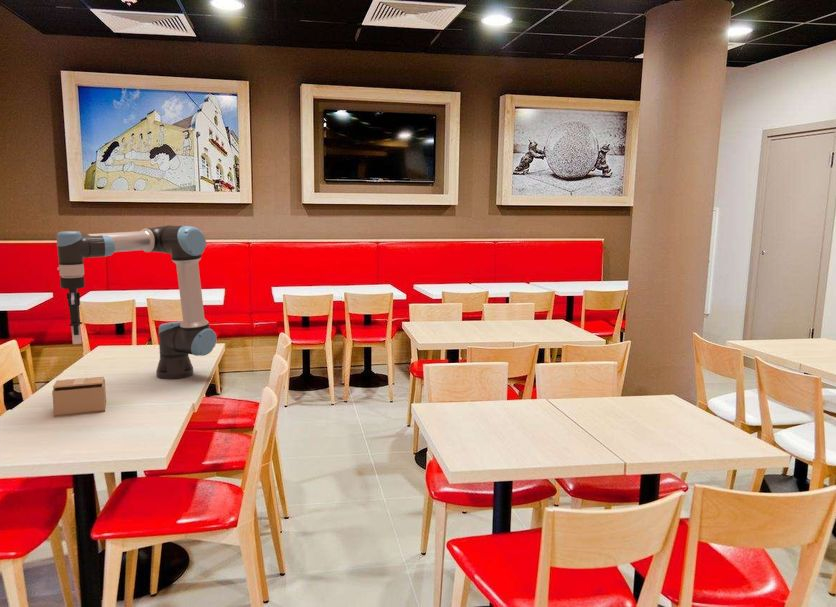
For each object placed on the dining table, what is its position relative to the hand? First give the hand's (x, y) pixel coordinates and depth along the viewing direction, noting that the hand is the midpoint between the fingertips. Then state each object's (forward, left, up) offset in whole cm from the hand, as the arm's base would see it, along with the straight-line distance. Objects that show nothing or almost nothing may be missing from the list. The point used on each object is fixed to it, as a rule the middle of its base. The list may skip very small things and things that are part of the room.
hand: (77, 343), depth 233 cm
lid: (0, -3, -15) cm, 15 cm away
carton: (0, -3, -25) cm, 25 cm away
